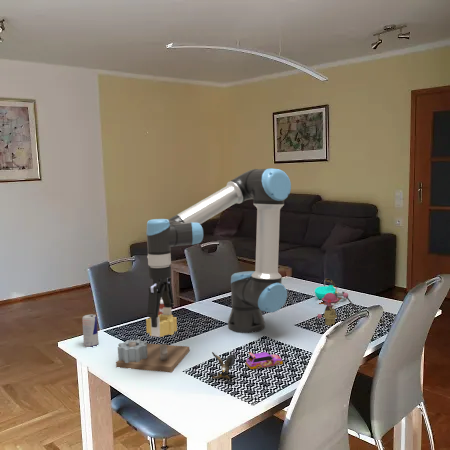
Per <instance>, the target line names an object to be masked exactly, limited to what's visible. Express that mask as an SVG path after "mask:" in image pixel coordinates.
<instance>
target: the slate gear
mask: <svg viewBox="0 0 450 450" xmlns="http://www.w3.org/2000/svg"><path fill="white" fill-rule="evenodd" d="M130 342H136V346H135V347H129V343H130ZM147 344H148V342H147V340H144V341H142V340H141V339H139V338H138V339H134V340H133V339H132V340H131V339H127V340H126V341H125V342H120V343H118V346H117V359H118V360H119V361H121V360H123V361H125V363H129V362H134V361H136V362H140V360H141V359H146V358H147V354H148V352H147ZM118 360H117V361H118Z"/></svg>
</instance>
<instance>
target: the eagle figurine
mask: <svg viewBox="0 0 450 450" xmlns="http://www.w3.org/2000/svg"><path fill="white" fill-rule="evenodd" d="M211 353H212V356H213V357H215V359H216V360H218V364H219V366H220V367H221V372H217V375H215V376H212V378H213V379H216V378H217V379H220V378H225V379H228V380H230V379H231V378H230V376H229V370H230V371H231V370H232V368H231V367H233V366H234V365H235V361H236V359H237V358H236V357H237V356H236V355H235V354H232V353H231V354H229V355H228V356H227V357H226V358H225V362H224V363H223V360H222V359H221V357H220V356H218V355H217V354H216V353H215V352H213V351H212V352H211Z"/></svg>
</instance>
